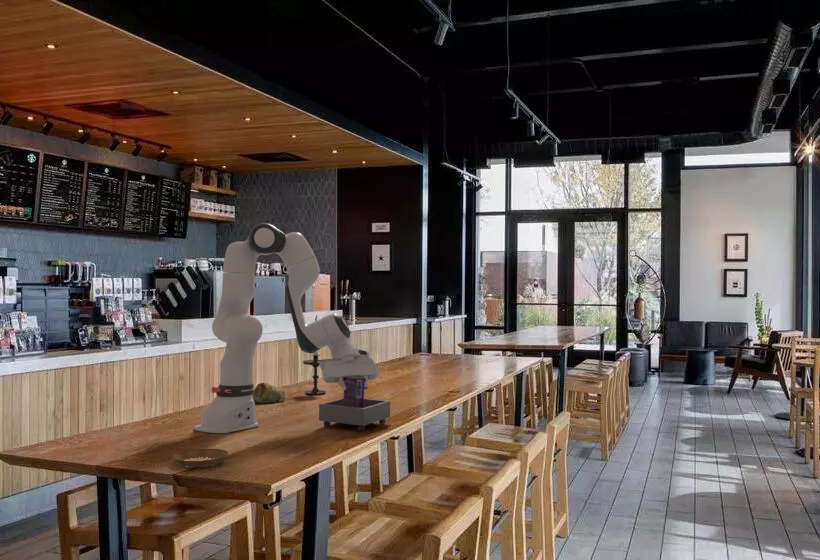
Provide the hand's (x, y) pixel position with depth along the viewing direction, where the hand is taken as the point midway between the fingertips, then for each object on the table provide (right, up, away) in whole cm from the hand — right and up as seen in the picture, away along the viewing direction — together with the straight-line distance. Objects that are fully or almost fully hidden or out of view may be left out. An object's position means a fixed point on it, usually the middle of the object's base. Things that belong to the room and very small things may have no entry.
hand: (356, 389), depth 260 cm
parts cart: (-1, -13, 0) cm, 13 cm away
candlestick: (-23, -12, +70) cm, 75 cm away
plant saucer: (-39, -13, -53) cm, 67 cm away
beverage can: (-1, -8, 0) cm, 8 cm away
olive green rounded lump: (-41, -13, +50) cm, 66 cm away
